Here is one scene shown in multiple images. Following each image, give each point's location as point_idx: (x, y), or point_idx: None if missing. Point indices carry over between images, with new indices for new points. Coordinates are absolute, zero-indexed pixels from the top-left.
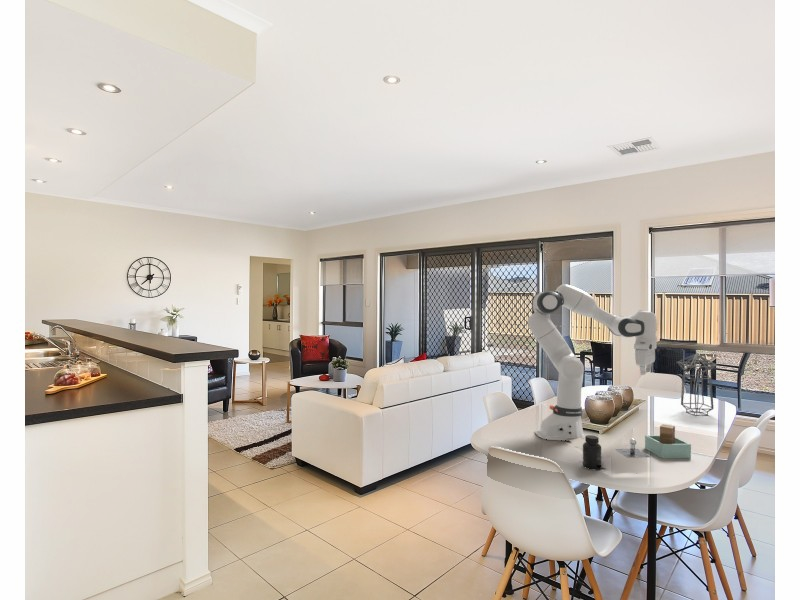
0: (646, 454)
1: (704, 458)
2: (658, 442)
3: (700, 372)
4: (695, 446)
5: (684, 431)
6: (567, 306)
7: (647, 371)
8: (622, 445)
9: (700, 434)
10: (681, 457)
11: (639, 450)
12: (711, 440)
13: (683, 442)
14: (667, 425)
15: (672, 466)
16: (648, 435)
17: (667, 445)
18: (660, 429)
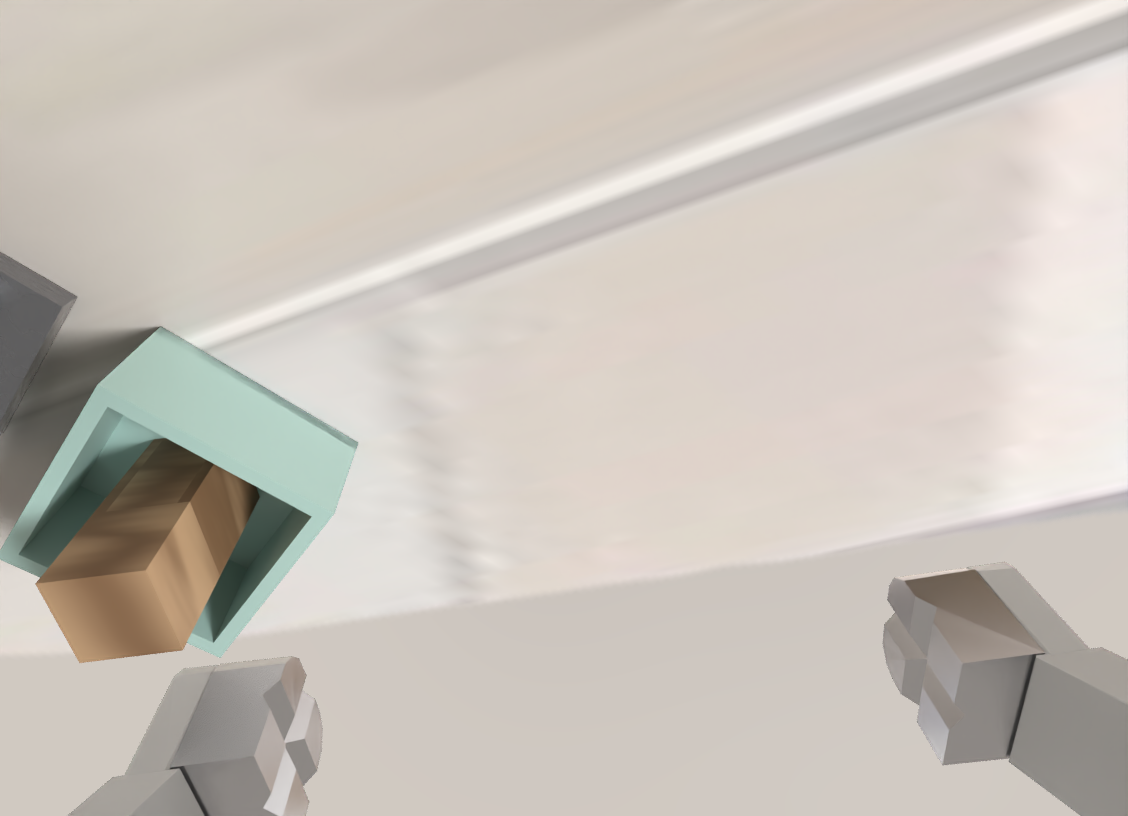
0: (7, 402)
1: (395, 599)
2: (17, 521)
3: None
4: (621, 501)
5: (1011, 333)
6: None
7: (899, 624)
8: (126, 131)
9: (988, 435)
10: None
11: (41, 333)
12: (861, 521)
13: (238, 609)
14: (136, 610)
15: None
16: (130, 402)
17: (42, 571)
18: (56, 565)
